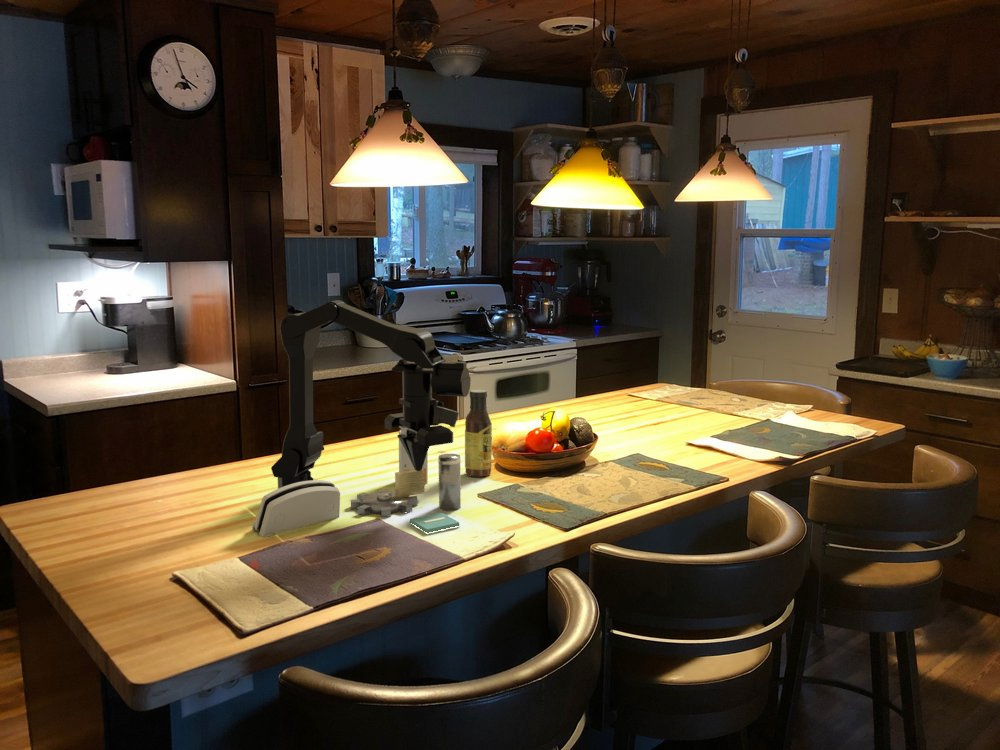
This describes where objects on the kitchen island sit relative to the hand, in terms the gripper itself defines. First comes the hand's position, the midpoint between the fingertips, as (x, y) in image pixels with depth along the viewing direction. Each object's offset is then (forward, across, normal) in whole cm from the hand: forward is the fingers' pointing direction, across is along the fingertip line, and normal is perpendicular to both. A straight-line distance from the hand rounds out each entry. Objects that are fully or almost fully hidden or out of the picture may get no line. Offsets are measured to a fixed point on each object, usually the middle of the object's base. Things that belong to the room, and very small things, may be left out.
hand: (418, 470), depth 169 cm
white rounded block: (+9, +6, +23) cm, 25 cm away
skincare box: (+9, +19, -9) cm, 23 cm away
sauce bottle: (+9, +17, -25) cm, 31 cm away
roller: (+9, -1, -7) cm, 11 cm away
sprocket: (+9, +7, +3) cm, 11 cm away
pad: (+9, -9, +1) cm, 13 cm away
